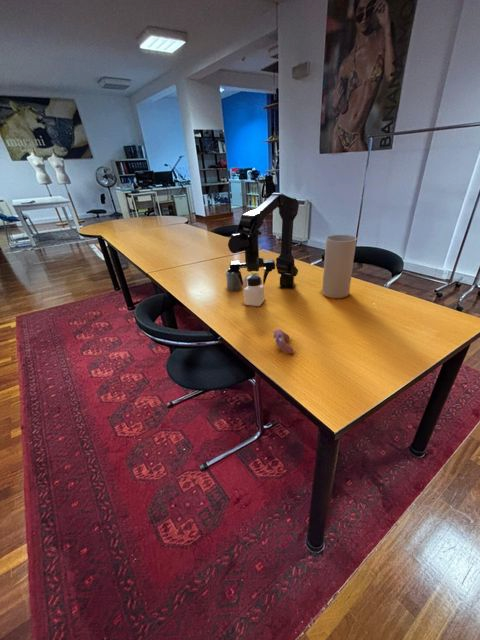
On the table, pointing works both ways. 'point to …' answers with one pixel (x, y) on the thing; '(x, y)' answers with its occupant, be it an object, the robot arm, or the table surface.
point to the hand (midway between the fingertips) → (253, 285)
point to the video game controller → (282, 341)
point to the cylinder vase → (338, 265)
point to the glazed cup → (233, 281)
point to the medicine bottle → (253, 291)
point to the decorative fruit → (246, 279)
